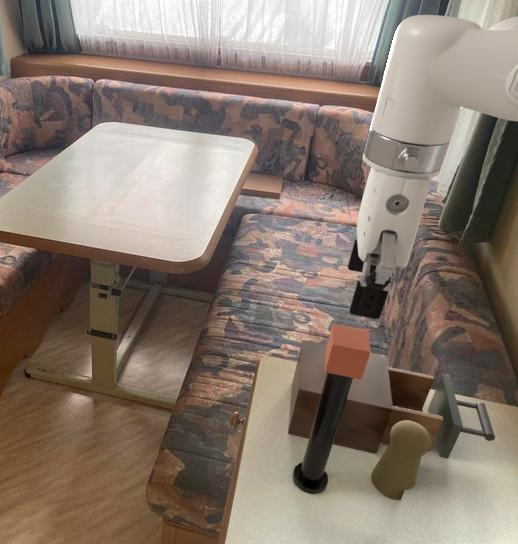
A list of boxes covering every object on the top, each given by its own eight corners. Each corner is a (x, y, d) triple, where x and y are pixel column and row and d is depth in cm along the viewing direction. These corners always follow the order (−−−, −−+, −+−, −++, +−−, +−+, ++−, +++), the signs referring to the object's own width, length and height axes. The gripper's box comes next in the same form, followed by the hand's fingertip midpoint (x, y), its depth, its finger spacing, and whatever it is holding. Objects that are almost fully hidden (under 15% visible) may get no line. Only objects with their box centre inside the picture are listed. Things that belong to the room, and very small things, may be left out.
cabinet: (372, 399, 99) (386, 356, 94) (376, 454, 89) (393, 409, 84) (292, 382, 102) (302, 339, 97) (287, 433, 91) (298, 389, 86)
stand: (332, 477, 85) (368, 362, 73) (319, 500, 81) (356, 384, 70) (300, 460, 87) (331, 347, 76) (286, 482, 84) (316, 366, 72)
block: (360, 357, 74) (368, 330, 72) (361, 379, 70) (370, 351, 68) (325, 350, 75) (332, 323, 72) (324, 372, 71) (332, 344, 69)
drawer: (471, 418, 95) (488, 383, 91) (486, 472, 86) (506, 435, 82) (358, 394, 99) (369, 359, 95) (360, 443, 89) (373, 407, 85)
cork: (375, 497, 82) (396, 443, 76) (367, 463, 87) (386, 411, 81) (418, 503, 82) (443, 449, 76) (407, 468, 87) (430, 416, 81)
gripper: (459, 189, 50) (403, 343, 59) (431, 130, 64) (389, 261, 73) (370, 175, 51) (328, 328, 60) (362, 121, 66) (329, 251, 75)
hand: (362, 291), depth 67 cm, fingers open, 9 cm apart
